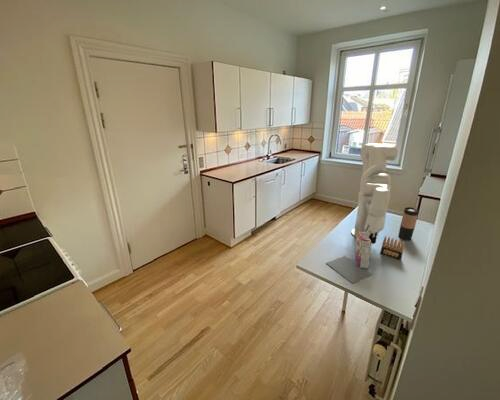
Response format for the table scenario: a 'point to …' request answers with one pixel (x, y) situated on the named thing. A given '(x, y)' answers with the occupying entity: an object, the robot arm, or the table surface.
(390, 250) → the ammunition clip
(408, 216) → the travel mug
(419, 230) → the table surface
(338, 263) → the mat
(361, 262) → the candy bar box
